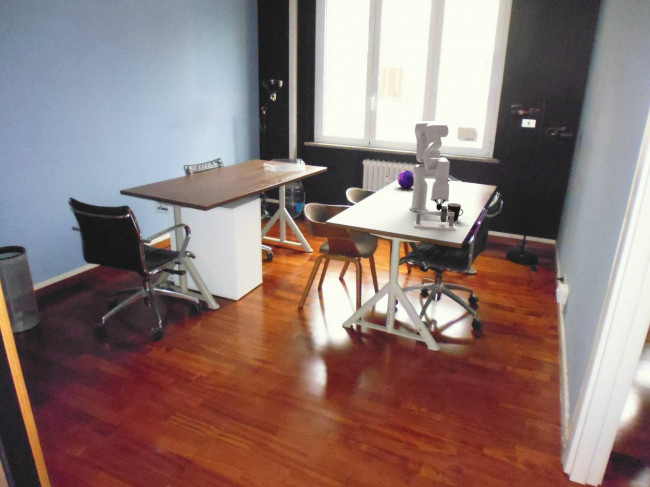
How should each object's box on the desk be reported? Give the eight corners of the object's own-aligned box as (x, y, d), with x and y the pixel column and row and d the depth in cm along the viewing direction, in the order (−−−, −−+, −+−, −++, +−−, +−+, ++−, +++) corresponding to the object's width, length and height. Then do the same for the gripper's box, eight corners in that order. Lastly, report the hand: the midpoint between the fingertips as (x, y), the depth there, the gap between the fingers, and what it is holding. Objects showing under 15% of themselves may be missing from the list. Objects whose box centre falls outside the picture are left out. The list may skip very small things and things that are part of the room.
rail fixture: (413, 221, 305) (414, 207, 302) (453, 224, 301) (455, 209, 298) (413, 227, 293) (415, 212, 290) (455, 230, 289) (457, 215, 286)
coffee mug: (444, 217, 315) (445, 203, 312) (456, 217, 316) (458, 203, 313) (449, 222, 304) (451, 207, 301) (462, 222, 305) (464, 207, 302)
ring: (440, 218, 299) (441, 206, 296) (445, 218, 298) (446, 206, 296) (440, 221, 291) (442, 209, 289) (446, 222, 291) (447, 209, 288)
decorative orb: (398, 185, 409) (400, 168, 404) (416, 187, 404) (417, 169, 399) (395, 189, 395) (396, 171, 390) (413, 190, 391) (415, 172, 386)
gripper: (453, 180, 290) (450, 209, 296) (428, 178, 292) (426, 207, 298) (454, 182, 283) (451, 212, 289) (429, 181, 285) (426, 210, 291)
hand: (438, 210), depth 293 cm, fingers closed
